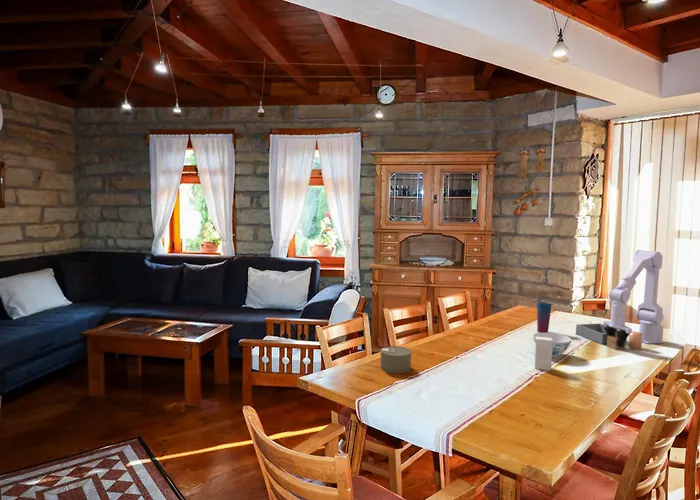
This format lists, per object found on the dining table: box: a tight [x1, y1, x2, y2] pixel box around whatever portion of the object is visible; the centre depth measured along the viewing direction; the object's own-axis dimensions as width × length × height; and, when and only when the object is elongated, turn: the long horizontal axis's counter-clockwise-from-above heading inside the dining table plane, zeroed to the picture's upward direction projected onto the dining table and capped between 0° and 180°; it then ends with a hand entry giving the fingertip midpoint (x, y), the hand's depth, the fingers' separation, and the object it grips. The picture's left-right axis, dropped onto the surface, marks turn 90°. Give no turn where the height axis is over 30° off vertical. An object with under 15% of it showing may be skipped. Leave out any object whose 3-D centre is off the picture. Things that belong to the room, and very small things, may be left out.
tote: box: [575, 322, 628, 346], centre depth 231 cm, size 14×18×5 cm
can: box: [379, 345, 412, 374], centre depth 184 cm, size 12×12×7 cm
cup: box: [536, 300, 552, 333], centre depth 241 cm, size 7×7×15 cm
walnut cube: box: [606, 335, 626, 351], centre depth 216 cm, size 5×5×5 cm
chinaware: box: [532, 332, 572, 358], centre depth 204 cm, size 15×15×8 cm
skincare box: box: [534, 337, 553, 371], centre depth 187 cm, size 6×4×12 cm
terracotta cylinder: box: [628, 331, 643, 351], centre depth 216 cm, size 5×5×7 cm
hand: (615, 344), depth 216 cm, fingers closed on walnut cube, 5 cm apart
